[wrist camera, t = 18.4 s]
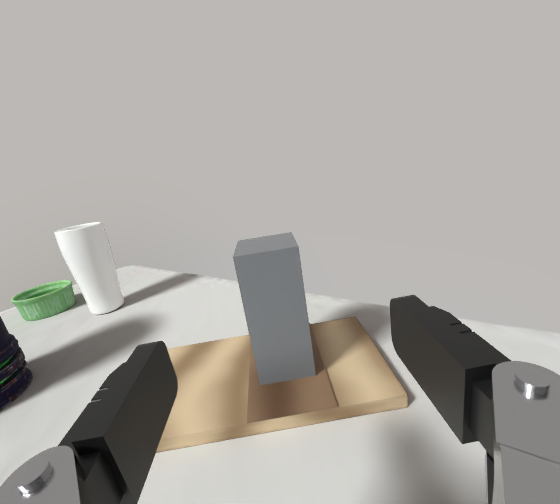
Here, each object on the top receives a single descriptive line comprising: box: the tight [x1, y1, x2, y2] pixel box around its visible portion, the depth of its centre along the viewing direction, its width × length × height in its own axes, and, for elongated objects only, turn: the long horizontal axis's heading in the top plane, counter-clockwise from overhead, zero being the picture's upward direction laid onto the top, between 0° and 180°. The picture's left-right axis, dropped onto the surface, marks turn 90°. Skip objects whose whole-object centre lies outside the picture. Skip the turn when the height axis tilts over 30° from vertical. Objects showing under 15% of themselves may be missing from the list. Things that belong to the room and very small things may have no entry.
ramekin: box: [11, 280, 76, 321], centre depth 52 cm, size 9×9×4 cm
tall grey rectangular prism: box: [233, 232, 316, 385], centre depth 25 cm, size 5×5×12 cm
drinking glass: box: [54, 222, 124, 315], centre depth 47 cm, size 7×7×15 cm
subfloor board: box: [156, 317, 408, 452], centre depth 27 cm, size 25×12×1 cm, turn 94°
